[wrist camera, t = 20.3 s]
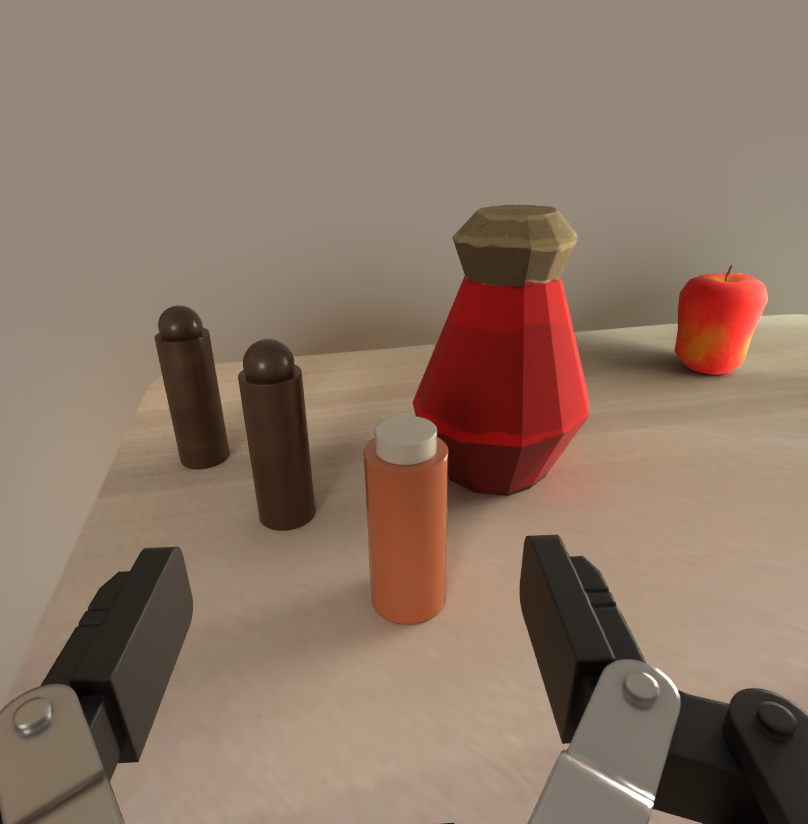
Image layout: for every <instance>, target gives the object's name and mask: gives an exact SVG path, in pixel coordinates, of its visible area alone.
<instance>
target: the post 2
mask: <svg viewBox="0 0 808 824" xmlns="http://www.w3.org/2000/svg"><path fill="white" fill-rule="evenodd" d="M243 368H244V370H243V371H241V372H240V373H239V375H238V380H239V386H240V393H241V399H242V406H243V413H244V419H245V426H246V432H247V439H248V446H249V452H250V459H251V465H252V472H253V479H254V485H255V492H256V498H257V505H258V512H259V518H260V521H261V523H262V524H263V525H264V526H266V527H268V528H270V529H274V530H291V529H295V528H298V527H301V526H303V525H305V524H306V523H308V522H309V521H310V520H311V519H312V518H313V516H314V514H315V502H314V492H313V482H312V472H311V462H310V452H309V442H308V432H307V421H306V411H305V401H304V391H303V381H302V371H301V369H300V367H298V366H296V365H294V358H293V355H292V353H291V351H290V350H289V349H288V347H287V346H286V345H284V344H283V343H281V342H279V341H277V340H273V339H263V340H260V341H257V342H255V343H254V344H252V345H251V346H250V347H249V348H248V350H247V351H246V353H245V356H244V359H243Z"/></svg>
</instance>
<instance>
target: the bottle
mask: <svg viewBox="0 0 808 824" xmlns="http://www.w3.org/2000/svg"><path fill="white" fill-rule="evenodd" d="M577 238H578V234H577V233H576V231H575V230H574V229H573V228H572V227H571V225H570V224H569V223H568V222H567V220H566V219H565V218H564V217H563V215H562V214H561V213H560V212H559V211H558V210H557V209H555V208H553V207H547V206H533V205H503V206H491V207H485V208H480V209H479V210H478V211H476V212H475V213H474V214H473V216H472V217H471V218H470V219H469V220H468V221H467V222H466V223H465V224H464V225H463V226H462V227H461V229H460V230H459V231H458V232H457V233H456V234H455V235H454V236H453V240H454V243H455V246H456V250H457V252H458V256H459V259H460V262H461V265H462V268H463V271H464V274H465V277H464V279H463V281H462V284H461V286H460V289H459V291H458V293H457V296H456V298H455V301H454V303H453V306H452V308H451V311H450V313H449V315H448V318H447V320H446V323H445V325H444V328H443V330H442V332H441V335H440V337H439V340H438V342H437V344H436V347H435V349H434V352H433V354H432V356H431V359H430V361H429V364H428V366H427V369H426V371H425V373H424V376H423V378H422V381H421V383H420V386H419V388H418V390H417V393H416V395H415V398H414V400H413V406H414V410H415V414H416V416H417V417H422V418H425V419H427V420H429V421H431V422H432V423H434V424H435V426H436V428H437V437H438V438H440V439H441V440H443V441H444V442H445V444H446V445H447V447H448V476H449V478H450V480H452V481H454V482H456V483H458V484H460V485H462V486H463V487H465V488H467V489H469V490H471V491H473V492H476V493H487V494H497V495H507V496H508V495H511V494H514V493H517V492H520V491H523V490H526V489H529V488H531V487H532V486H533V485H534V484H536V483H537V482H538V481H539V480H541V479H542V478H543V477H544V476H545V475H546V474H547V473H548V471H549V470H550V469H551V467H552V466H553V464H554V463H555V462H556V460H557V459H558V458H559V456H560V455H561V454H562V452H563V451H564V449H565V448H566V447H567V445H568V444H569V443H570V441H571V440H572V439H573V437H574V436H575V435H576V433H577V432H578V430H579V429H580V428H581V426H582V425H583V424H584V422H585V421H586V420H587V418H588V417H589V405H588V392H587V388H586V383H585V379H584V375H583V370H582V366H581V361H580V357H579V353H578V348H577V344H576V340H575V335H574V331H573V327H572V322H571V318H570V313H569V309H568V305H567V301H566V296H565V292H564V287H563V283H562V278H561V274H562V271H563V269H564V267H565V265H566V263H567V261H568V259H569V257H570V254H571V252H572V250H573V248H574V246H575V244H576V242H577Z"/></svg>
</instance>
